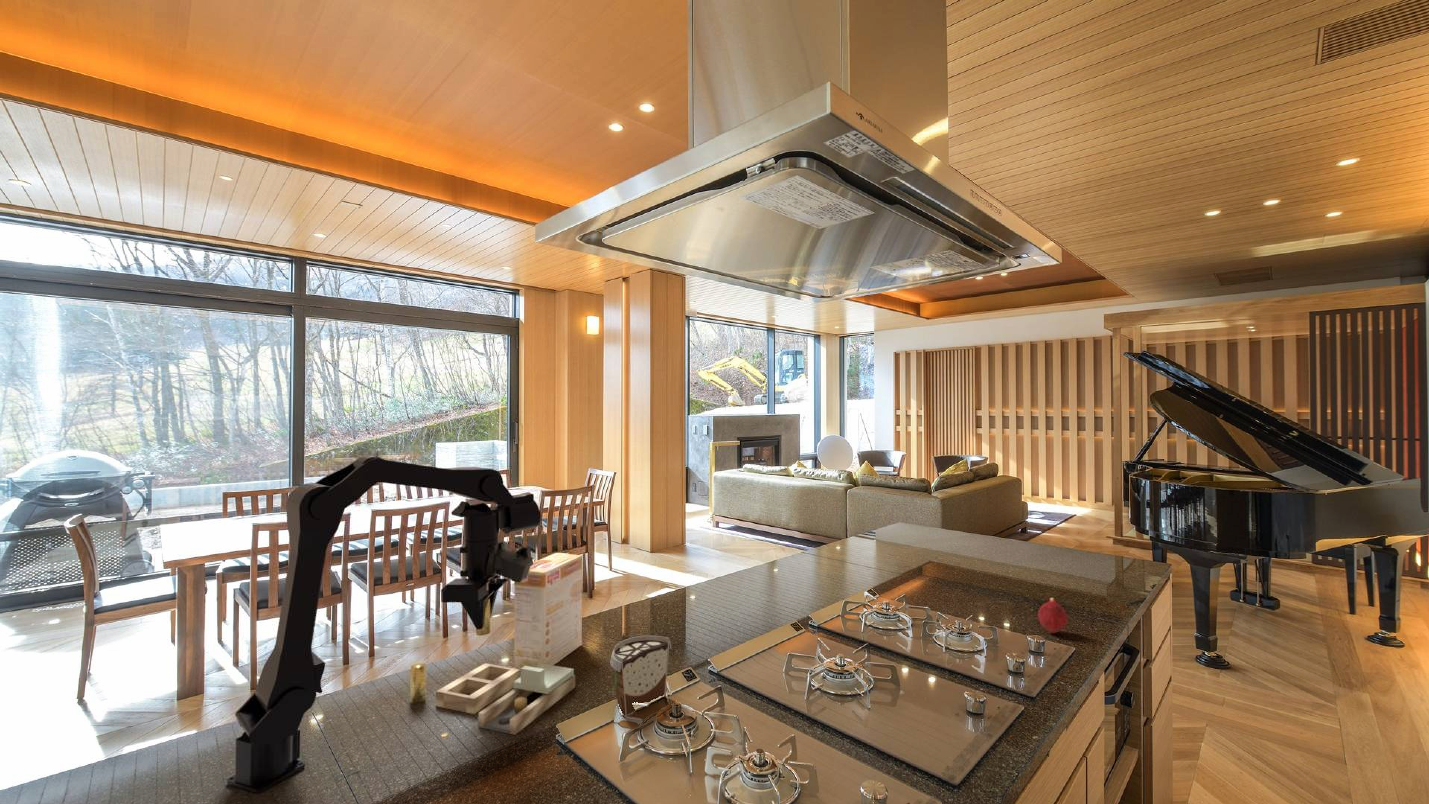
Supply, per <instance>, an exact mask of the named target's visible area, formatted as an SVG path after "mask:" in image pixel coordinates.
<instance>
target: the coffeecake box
mask: <svg viewBox="0 0 1429 804" xmlns="http://www.w3.org/2000/svg"><path fill="white" fill-rule="evenodd" d="M513 582H514V581H513ZM513 584H514V587H513V589H514V597H513V598H514V600H513V601H514V605H513V606H514V607H513V609H514V611H513V615H514V616H513V621H514V622H513V623H514V625H513V668H515V669H520V671H521V668H522V667H524V666H529V667H537V666H538V665H540V664H541V663H542V664H548V665H554V666H555V664H557V663H559V662H560V661H561V660H563V659H564V658H566V657H567V656H568V655H569V654H571V653H573V652H574V651H575V650H577V649H578V648H579V647H580V646H582V645H583V640H582V639H583V638H582V637H583V635H582V634H583V633H582V631H583V630H582V629H583V626H582V625H583V624H582V623H583V618H582V617H583V612H582V611H583V609H582V608H583V603H582V602H583V601H582V600H583V555H582V554H571V553H564V552H555V553H552V554H550V555H547V556H546V557H545V556H544V557H542V558H541V559H538V560H535V561H533V565H531V566H530V569H529V572H528V575H527V577H525V578H524V579H523V580H522V581H521V582H514V583H513Z"/></svg>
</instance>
